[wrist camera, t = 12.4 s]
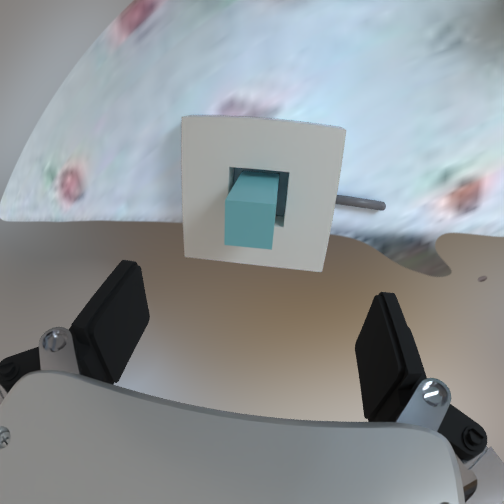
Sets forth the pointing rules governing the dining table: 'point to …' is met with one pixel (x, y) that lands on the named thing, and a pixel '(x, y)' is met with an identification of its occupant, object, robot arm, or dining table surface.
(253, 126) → the white square-hole board
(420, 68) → the dining table surface
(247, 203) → the plug
